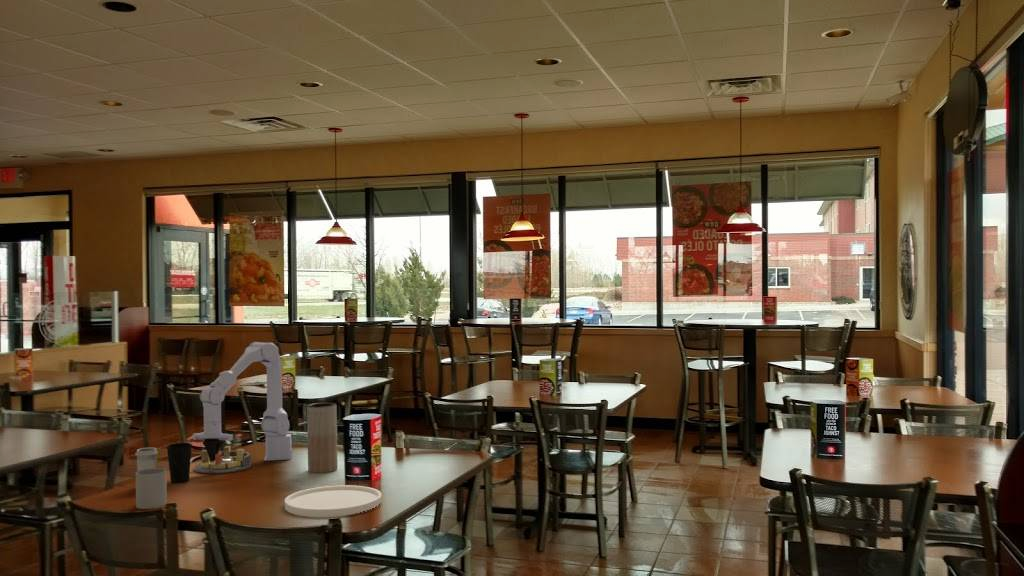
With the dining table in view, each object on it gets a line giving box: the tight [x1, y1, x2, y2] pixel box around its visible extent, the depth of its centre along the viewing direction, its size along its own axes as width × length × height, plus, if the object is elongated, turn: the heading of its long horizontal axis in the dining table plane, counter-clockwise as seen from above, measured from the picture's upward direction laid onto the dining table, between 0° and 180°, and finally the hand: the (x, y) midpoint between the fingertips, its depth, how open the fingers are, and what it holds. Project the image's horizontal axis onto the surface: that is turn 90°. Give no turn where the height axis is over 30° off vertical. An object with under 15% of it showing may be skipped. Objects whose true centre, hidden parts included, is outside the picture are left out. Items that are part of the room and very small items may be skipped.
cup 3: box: [166, 442, 193, 484], centre depth 278 cm, size 8×8×12 cm
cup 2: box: [135, 467, 168, 510], centre depth 248 cm, size 8×8×10 cm
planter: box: [306, 402, 338, 474], centre depth 292 cm, size 10×10×23 cm
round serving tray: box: [194, 450, 252, 475], centre depth 297 cm, size 19×19×4 cm
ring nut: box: [199, 445, 245, 469], centre depth 297 cm, size 15×15×5 cm
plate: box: [284, 484, 383, 518], centre depth 247 cm, size 28×28×2 cm
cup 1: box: [135, 447, 159, 471], centre depth 271 cm, size 7×7×12 cm
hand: (213, 460), depth 292 cm, fingers closed
